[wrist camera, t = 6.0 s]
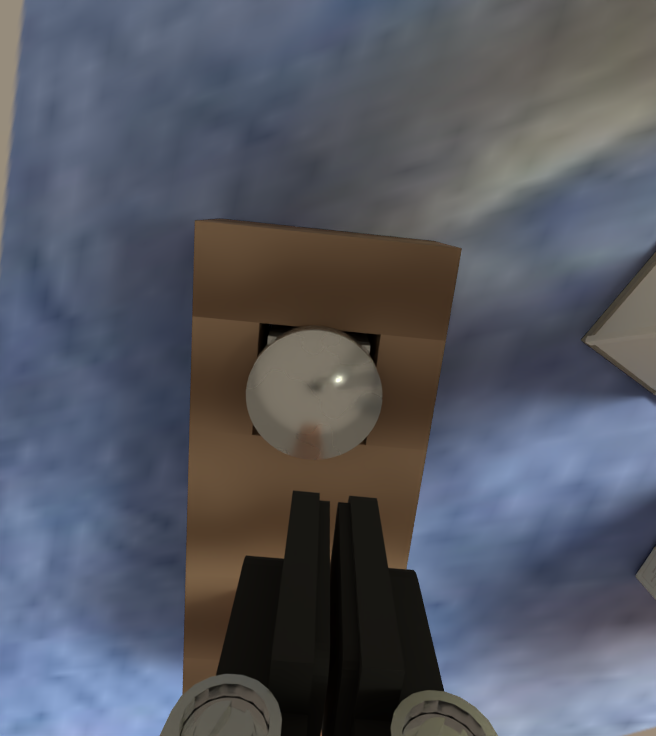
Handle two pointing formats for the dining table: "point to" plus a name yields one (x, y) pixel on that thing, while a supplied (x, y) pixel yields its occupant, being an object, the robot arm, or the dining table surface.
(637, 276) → the skyscraper
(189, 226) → the dining table surface
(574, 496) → the dining table surface
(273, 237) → the plug block
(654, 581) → the supplement box
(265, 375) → the plug
